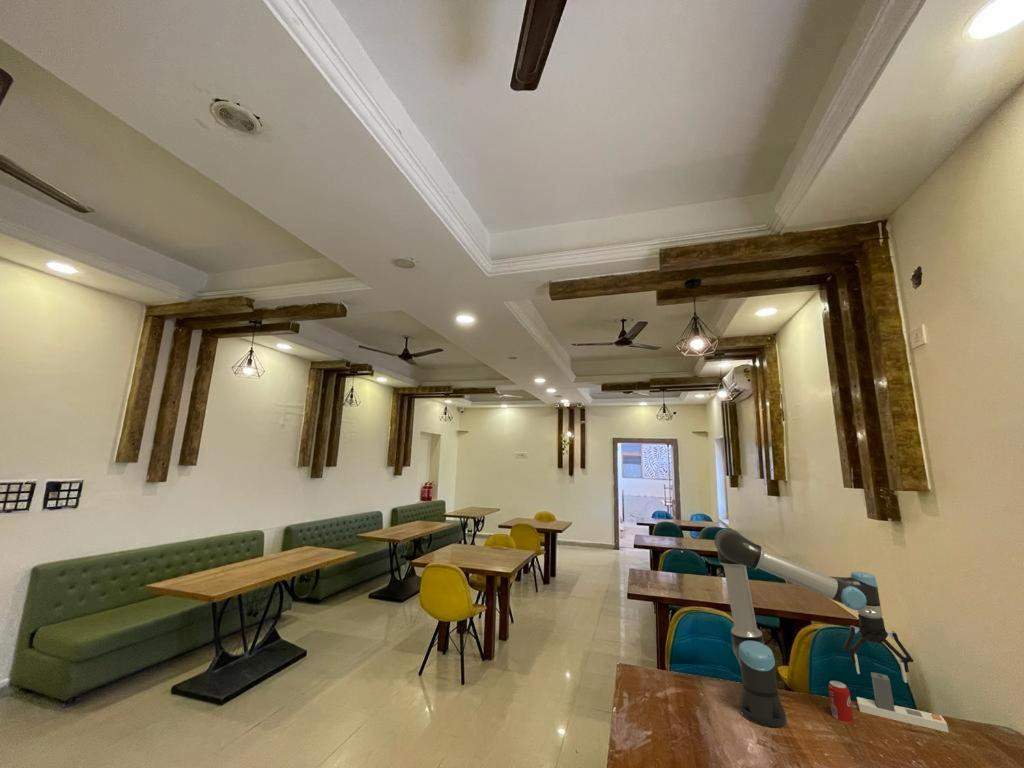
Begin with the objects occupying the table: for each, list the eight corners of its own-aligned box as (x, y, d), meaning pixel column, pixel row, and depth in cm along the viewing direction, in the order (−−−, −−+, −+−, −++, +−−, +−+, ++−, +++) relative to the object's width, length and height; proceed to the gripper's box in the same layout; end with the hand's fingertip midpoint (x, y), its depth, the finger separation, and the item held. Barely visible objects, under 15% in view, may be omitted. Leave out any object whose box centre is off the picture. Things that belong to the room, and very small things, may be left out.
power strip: (850, 712, 158) (848, 699, 159) (848, 704, 163) (846, 692, 164) (949, 735, 144) (946, 722, 145) (943, 726, 149) (941, 713, 150)
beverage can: (858, 726, 149) (852, 689, 152) (838, 724, 150) (832, 687, 153) (847, 716, 155) (842, 680, 158) (828, 714, 156) (823, 679, 159)
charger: (879, 715, 154) (872, 676, 157) (876, 709, 158) (870, 671, 161) (896, 719, 152) (889, 680, 154) (893, 712, 156) (887, 674, 158)
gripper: (831, 613, 165) (841, 672, 161) (916, 624, 152) (929, 689, 148) (829, 607, 172) (838, 665, 167) (910, 618, 159) (923, 680, 154)
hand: (881, 676), depth 158 cm, fingers open, 13 cm apart
